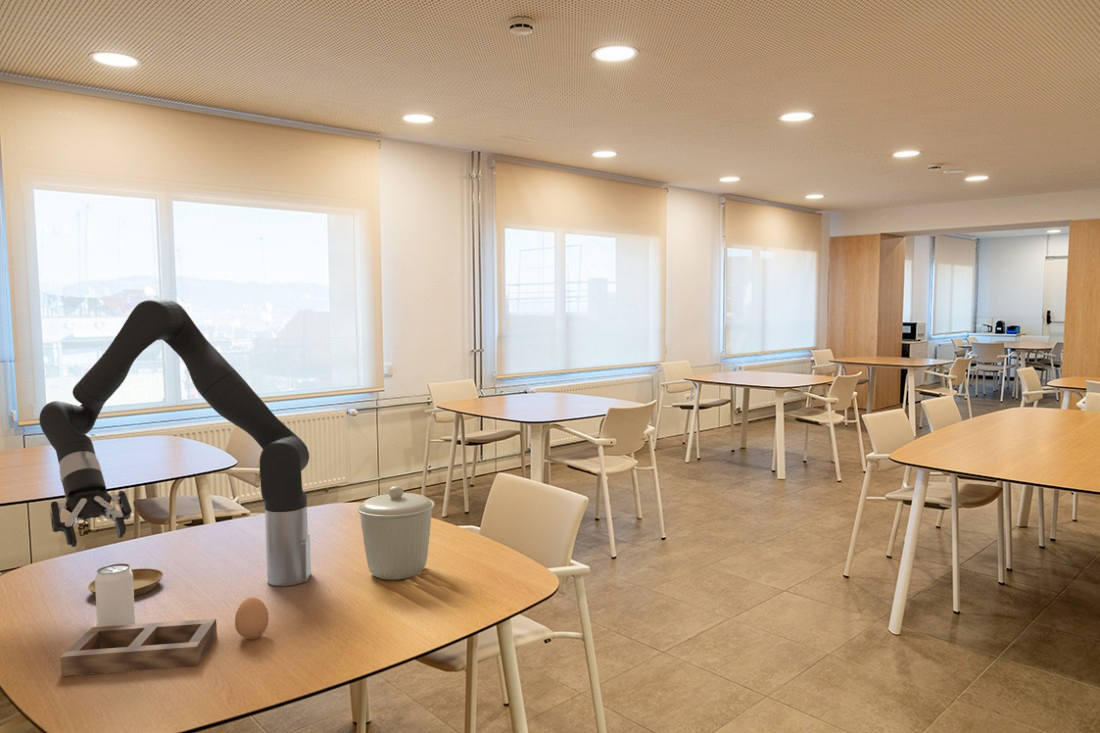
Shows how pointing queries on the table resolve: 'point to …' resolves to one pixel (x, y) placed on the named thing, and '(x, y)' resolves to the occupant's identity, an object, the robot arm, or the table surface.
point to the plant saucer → (140, 580)
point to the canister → (396, 533)
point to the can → (115, 595)
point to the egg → (251, 618)
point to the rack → (139, 647)
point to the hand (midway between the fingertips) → (98, 540)
